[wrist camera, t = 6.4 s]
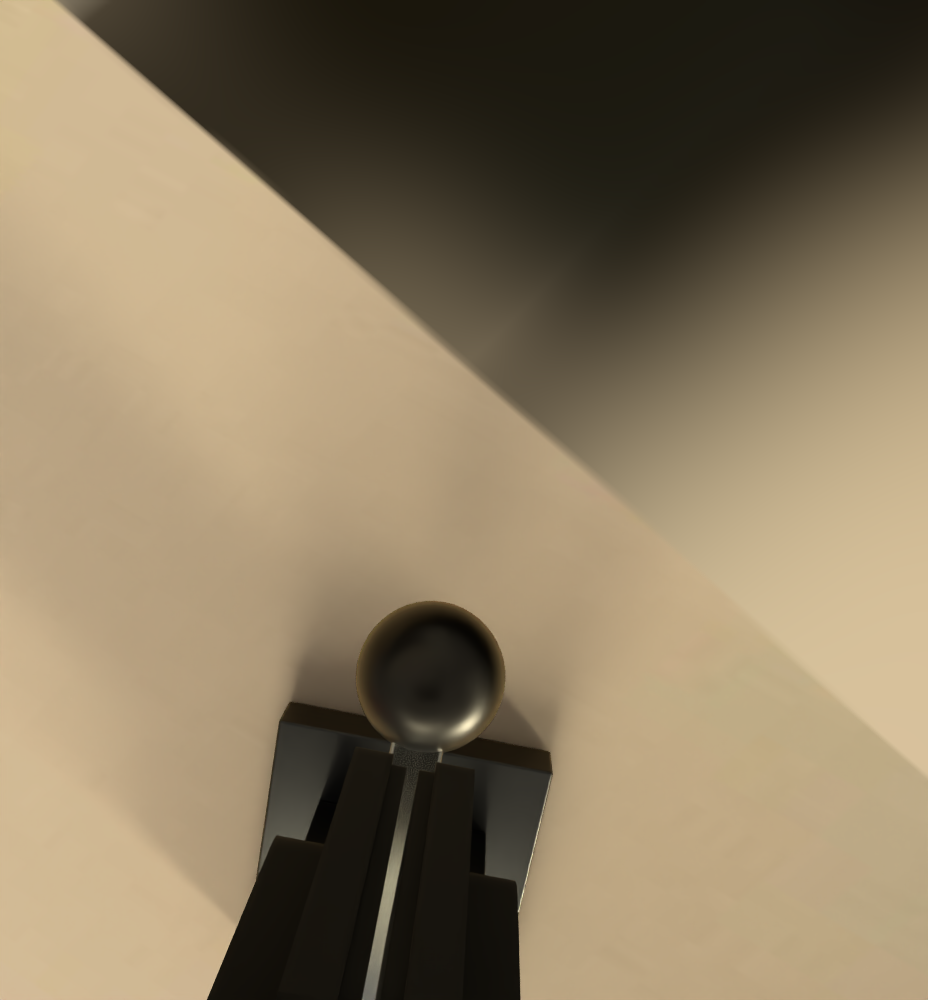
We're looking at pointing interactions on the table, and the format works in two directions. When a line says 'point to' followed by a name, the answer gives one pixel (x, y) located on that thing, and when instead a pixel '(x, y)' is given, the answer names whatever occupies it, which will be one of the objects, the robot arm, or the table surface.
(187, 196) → the table surface
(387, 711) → the tap lever
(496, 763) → the lever base
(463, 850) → the robot arm
